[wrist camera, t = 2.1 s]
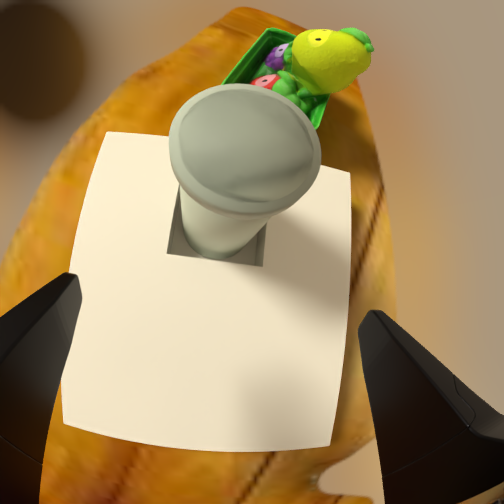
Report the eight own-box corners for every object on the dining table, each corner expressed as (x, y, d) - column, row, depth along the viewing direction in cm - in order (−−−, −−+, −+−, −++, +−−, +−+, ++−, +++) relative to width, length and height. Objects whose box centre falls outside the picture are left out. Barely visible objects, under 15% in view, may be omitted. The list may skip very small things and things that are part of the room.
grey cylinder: (211, 280, 19) (237, 246, 8) (163, 218, 19) (139, 125, 9) (270, 232, 21) (347, 161, 10) (223, 176, 21) (256, 68, 10)
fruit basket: (257, 59, 25) (287, -25, 14) (332, 93, 26) (385, 21, 15) (209, 130, 22) (229, 22, 11) (305, 173, 23) (378, 90, 13)
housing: (310, 428, 19) (329, 445, 16) (80, 407, 16) (63, 423, 13) (329, 189, 23) (349, 172, 20) (116, 155, 20) (106, 131, 17)
